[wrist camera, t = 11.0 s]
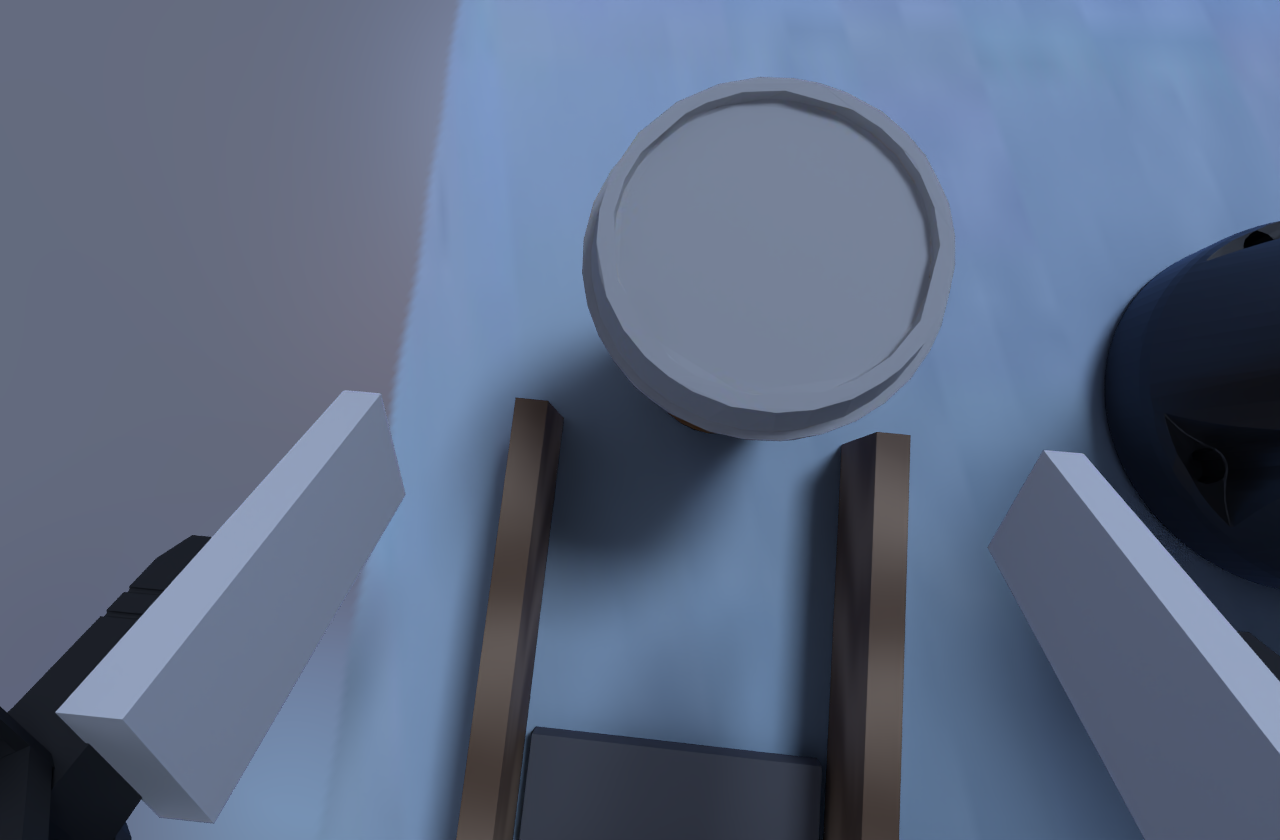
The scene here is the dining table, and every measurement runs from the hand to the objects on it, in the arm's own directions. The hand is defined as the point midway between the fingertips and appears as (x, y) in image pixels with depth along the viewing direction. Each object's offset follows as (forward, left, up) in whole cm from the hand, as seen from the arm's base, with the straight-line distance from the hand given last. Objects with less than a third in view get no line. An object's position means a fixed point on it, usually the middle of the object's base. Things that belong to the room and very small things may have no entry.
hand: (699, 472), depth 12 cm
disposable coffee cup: (-6, 0, -13) cm, 15 cm away
